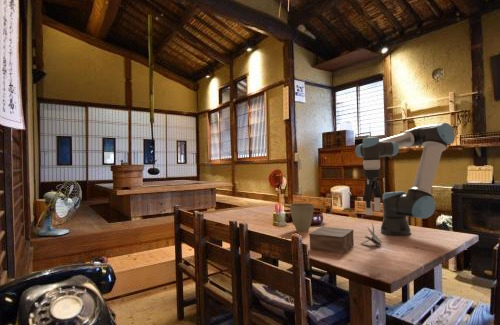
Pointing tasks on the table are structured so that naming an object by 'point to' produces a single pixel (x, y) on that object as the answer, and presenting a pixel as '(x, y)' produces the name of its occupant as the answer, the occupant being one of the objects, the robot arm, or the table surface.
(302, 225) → the plant pot
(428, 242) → the table surface
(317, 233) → the walnut box
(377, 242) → the origami crane
